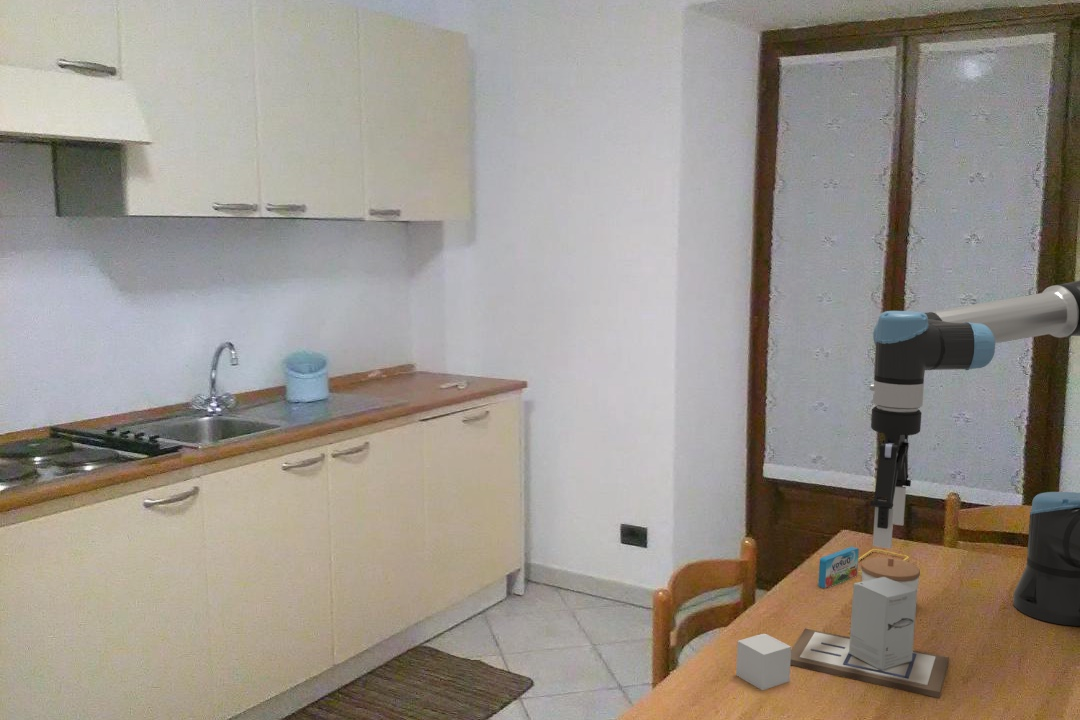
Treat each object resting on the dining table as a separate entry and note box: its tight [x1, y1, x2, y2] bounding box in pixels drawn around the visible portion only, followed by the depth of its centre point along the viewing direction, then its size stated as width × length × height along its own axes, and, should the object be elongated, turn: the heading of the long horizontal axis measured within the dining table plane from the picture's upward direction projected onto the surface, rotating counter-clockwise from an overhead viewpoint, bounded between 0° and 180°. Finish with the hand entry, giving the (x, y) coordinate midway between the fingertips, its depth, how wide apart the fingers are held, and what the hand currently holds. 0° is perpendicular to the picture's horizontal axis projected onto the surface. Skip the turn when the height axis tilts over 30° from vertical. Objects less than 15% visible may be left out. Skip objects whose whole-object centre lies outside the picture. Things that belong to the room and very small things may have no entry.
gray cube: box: [735, 632, 792, 691], centre depth 156 cm, size 6×6×6 cm
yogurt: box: [817, 546, 860, 589], centre depth 200 cm, size 12×2×6 cm, turn 130°
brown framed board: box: [790, 627, 950, 699], centre depth 162 cm, size 24×14×1 cm, turn 62°
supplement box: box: [849, 577, 918, 670], centre depth 161 cm, size 7×7×13 cm
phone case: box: [857, 548, 910, 576], centre depth 210 cm, size 8×17×1 cm, turn 141°
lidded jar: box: [860, 556, 921, 591], centre depth 188 cm, size 11×11×9 cm
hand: (888, 535), depth 159 cm, fingers open, 13 cm apart
